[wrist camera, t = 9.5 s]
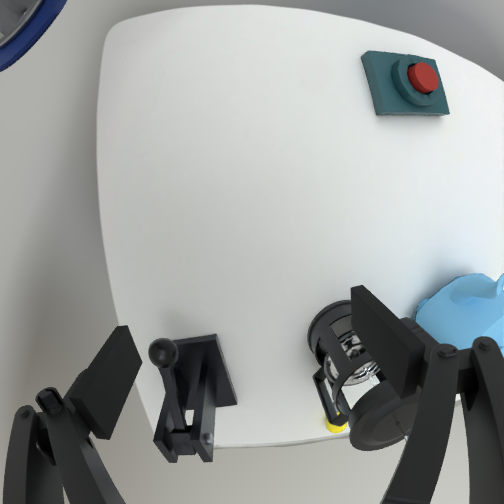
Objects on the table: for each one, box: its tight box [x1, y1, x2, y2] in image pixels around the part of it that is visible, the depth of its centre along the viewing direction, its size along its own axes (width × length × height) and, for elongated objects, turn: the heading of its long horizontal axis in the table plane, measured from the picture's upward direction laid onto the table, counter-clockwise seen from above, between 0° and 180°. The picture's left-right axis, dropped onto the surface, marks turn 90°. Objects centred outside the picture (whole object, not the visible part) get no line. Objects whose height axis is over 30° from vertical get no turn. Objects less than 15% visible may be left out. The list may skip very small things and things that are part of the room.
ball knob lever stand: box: [153, 334, 237, 463], centre depth 29 cm, size 12×9×14 cm
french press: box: [308, 300, 422, 451], centre depth 24 cm, size 12×9×23 cm
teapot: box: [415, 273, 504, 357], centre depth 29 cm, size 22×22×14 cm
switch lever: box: [148, 338, 197, 455], centre depth 25 cm, size 13×3×3 cm, turn 11°
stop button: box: [407, 62, 438, 93], centre depth 23 cm, size 4×4×2 cm
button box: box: [361, 51, 450, 116], centre depth 25 cm, size 8×11×4 cm
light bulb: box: [326, 404, 347, 433], centre depth 38 cm, size 3×6×4 cm, turn 5°
